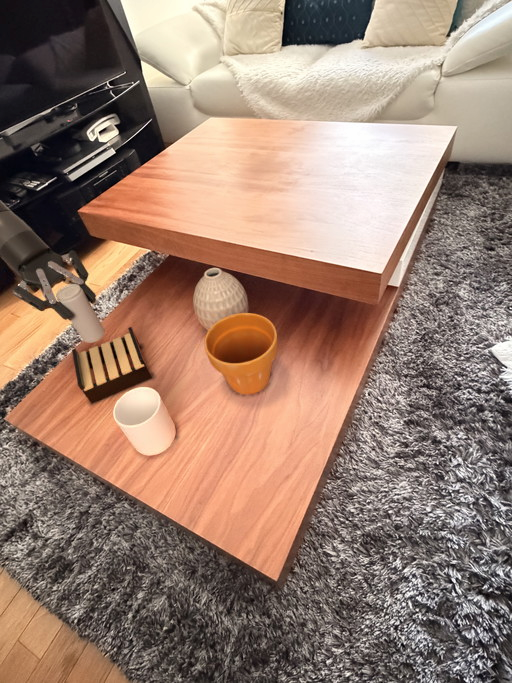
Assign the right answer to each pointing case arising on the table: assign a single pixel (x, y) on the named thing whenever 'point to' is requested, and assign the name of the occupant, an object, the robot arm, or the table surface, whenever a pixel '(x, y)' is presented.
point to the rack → (110, 367)
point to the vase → (218, 297)
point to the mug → (145, 420)
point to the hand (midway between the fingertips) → (83, 309)
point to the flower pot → (243, 350)
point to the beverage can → (81, 313)
